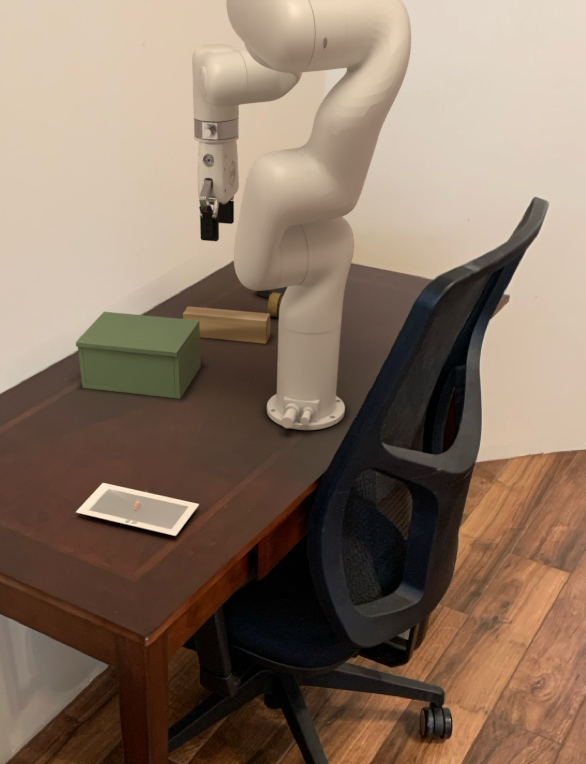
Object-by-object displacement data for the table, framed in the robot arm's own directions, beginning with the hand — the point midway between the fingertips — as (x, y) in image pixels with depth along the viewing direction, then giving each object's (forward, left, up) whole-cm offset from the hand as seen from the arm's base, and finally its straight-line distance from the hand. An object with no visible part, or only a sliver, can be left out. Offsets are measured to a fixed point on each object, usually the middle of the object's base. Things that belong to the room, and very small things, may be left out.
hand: (217, 231), depth 161 cm
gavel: (+17, -14, -19) cm, 29 cm away
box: (-22, +8, -19) cm, 30 cm away
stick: (-2, -2, -19) cm, 19 cm away
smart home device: (+26, -11, -18) cm, 34 cm away
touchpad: (-62, -5, -19) cm, 65 cm away
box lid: (-22, +8, -11) cm, 26 cm away
